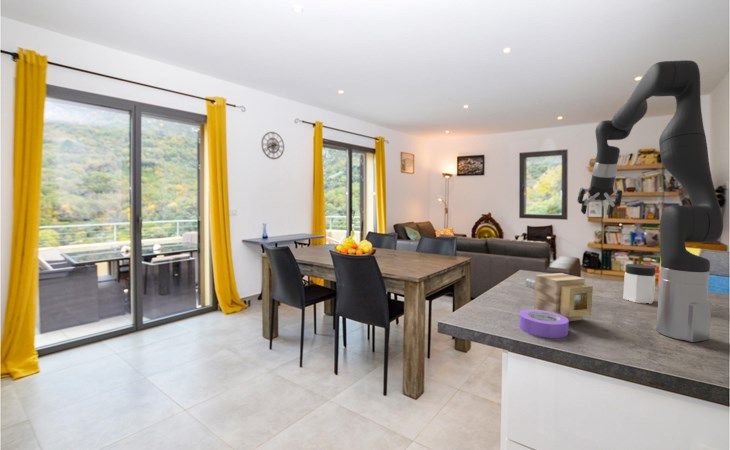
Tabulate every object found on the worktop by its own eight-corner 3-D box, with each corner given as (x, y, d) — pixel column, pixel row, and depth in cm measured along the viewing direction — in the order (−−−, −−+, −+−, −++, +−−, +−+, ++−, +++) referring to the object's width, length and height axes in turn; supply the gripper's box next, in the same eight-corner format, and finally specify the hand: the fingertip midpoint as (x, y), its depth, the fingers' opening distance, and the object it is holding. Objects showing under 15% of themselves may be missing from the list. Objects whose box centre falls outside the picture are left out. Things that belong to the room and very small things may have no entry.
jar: (651, 305, 116) (653, 269, 115) (621, 300, 122) (623, 266, 121) (655, 300, 122) (657, 266, 121) (626, 295, 128) (628, 262, 127)
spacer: (591, 314, 98) (592, 286, 98) (568, 317, 96) (570, 288, 95) (581, 311, 101) (583, 283, 100) (559, 313, 99) (560, 285, 98)
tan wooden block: (582, 319, 102) (584, 278, 101) (554, 322, 99) (556, 280, 98) (560, 311, 110) (561, 273, 109) (533, 313, 107) (535, 274, 106)
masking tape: (569, 328, 96) (570, 314, 95) (565, 342, 86) (566, 327, 86) (523, 319, 102) (524, 306, 102) (515, 332, 93) (515, 317, 92)
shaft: (583, 303, 98) (583, 292, 97) (574, 303, 97) (575, 293, 97) (532, 286, 116) (532, 277, 116) (524, 287, 115) (525, 278, 115)
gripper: (585, 176, 134) (577, 216, 140) (629, 177, 129) (620, 218, 135) (580, 171, 140) (573, 210, 146) (622, 172, 136) (613, 212, 142)
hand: (596, 214), depth 141 cm, fingers open, 8 cm apart
